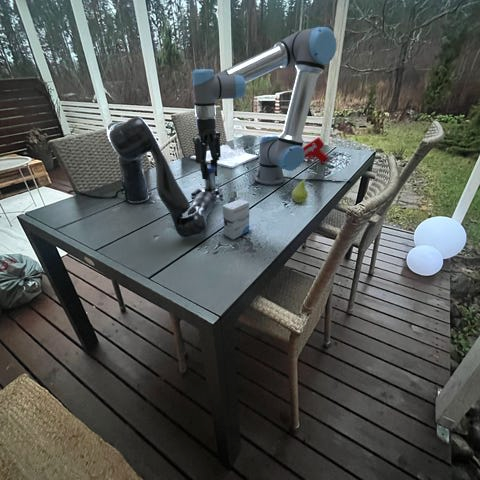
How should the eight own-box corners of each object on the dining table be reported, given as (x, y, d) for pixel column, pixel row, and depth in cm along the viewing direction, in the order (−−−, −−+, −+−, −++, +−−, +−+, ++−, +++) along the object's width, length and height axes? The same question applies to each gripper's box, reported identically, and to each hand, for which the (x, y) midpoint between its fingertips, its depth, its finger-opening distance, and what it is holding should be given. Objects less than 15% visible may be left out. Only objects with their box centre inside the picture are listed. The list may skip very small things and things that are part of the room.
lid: (217, 172, 112) (217, 167, 111) (206, 174, 110) (206, 169, 109) (212, 168, 116) (212, 164, 115) (201, 170, 114) (201, 166, 113)
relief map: (232, 168, 162) (231, 159, 159) (190, 158, 179) (189, 150, 177) (257, 157, 180) (257, 149, 177) (217, 149, 198) (217, 142, 195)
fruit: (288, 200, 123) (290, 174, 116) (302, 197, 125) (305, 172, 119) (296, 206, 118) (299, 179, 111) (310, 203, 120) (314, 177, 114)
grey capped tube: (212, 206, 119) (210, 170, 110) (204, 204, 121) (201, 168, 112) (218, 202, 122) (216, 167, 113) (210, 200, 124) (208, 166, 115)
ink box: (240, 226, 103) (240, 197, 97) (249, 231, 100) (250, 202, 94) (223, 234, 98) (222, 205, 92) (232, 240, 95) (232, 209, 89)
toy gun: (331, 157, 168) (319, 136, 164) (331, 159, 164) (318, 137, 160) (306, 172, 178) (294, 153, 174) (305, 174, 174) (292, 154, 170)
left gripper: (220, 196, 103) (227, 180, 117) (184, 194, 105) (195, 179, 119) (221, 214, 107) (228, 196, 121) (186, 212, 109) (197, 195, 123)
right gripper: (214, 113, 110) (217, 170, 123) (181, 120, 98) (188, 181, 110) (228, 115, 106) (230, 173, 119) (196, 122, 94) (201, 185, 107)
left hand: (212, 188), depth 120 cm, fingers closed on grey capped tube, 4 cm apart
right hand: (209, 177), depth 115 cm, fingers closed on lid, 5 cm apart
